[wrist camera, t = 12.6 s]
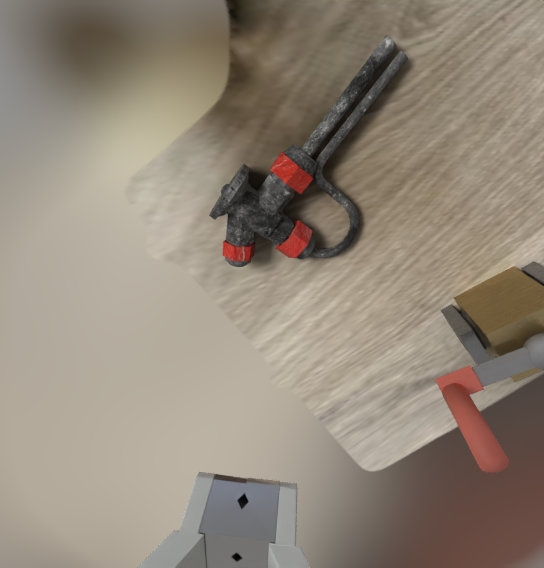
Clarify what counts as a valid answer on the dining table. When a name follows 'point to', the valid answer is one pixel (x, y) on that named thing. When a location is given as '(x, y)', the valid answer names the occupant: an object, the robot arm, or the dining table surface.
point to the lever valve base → (500, 314)
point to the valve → (299, 178)
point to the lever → (466, 381)
